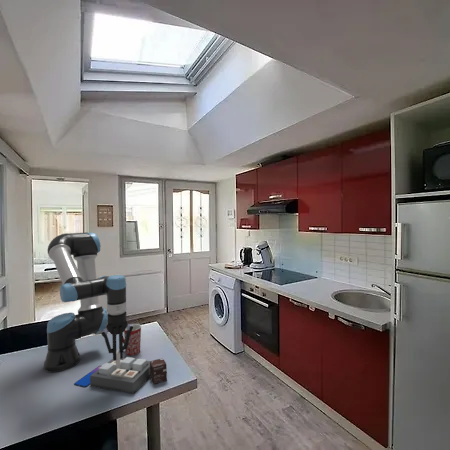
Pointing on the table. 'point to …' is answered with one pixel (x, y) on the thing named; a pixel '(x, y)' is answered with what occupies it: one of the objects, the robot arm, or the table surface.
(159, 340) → the table surface
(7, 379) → the table surface
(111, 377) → the keypad
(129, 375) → the key
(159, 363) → the box
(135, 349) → the mug
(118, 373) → the key
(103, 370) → the key
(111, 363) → the key
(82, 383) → the smartphone
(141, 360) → the key
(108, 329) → the robot arm
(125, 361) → the key
